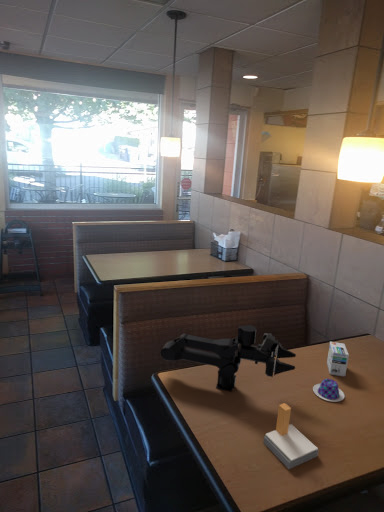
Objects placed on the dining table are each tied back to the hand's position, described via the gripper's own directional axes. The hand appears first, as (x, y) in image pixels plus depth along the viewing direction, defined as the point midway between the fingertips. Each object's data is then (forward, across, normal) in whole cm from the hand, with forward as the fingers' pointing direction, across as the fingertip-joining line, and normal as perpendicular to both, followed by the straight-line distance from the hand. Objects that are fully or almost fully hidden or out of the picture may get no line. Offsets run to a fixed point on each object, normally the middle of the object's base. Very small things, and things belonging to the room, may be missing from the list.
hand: (295, 361), depth 142 cm
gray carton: (+1, -26, +16) cm, 31 cm away
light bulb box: (+19, +30, +17) cm, 39 cm away
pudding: (+15, +10, +17) cm, 25 cm away
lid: (+1, -27, +14) cm, 30 cm away
